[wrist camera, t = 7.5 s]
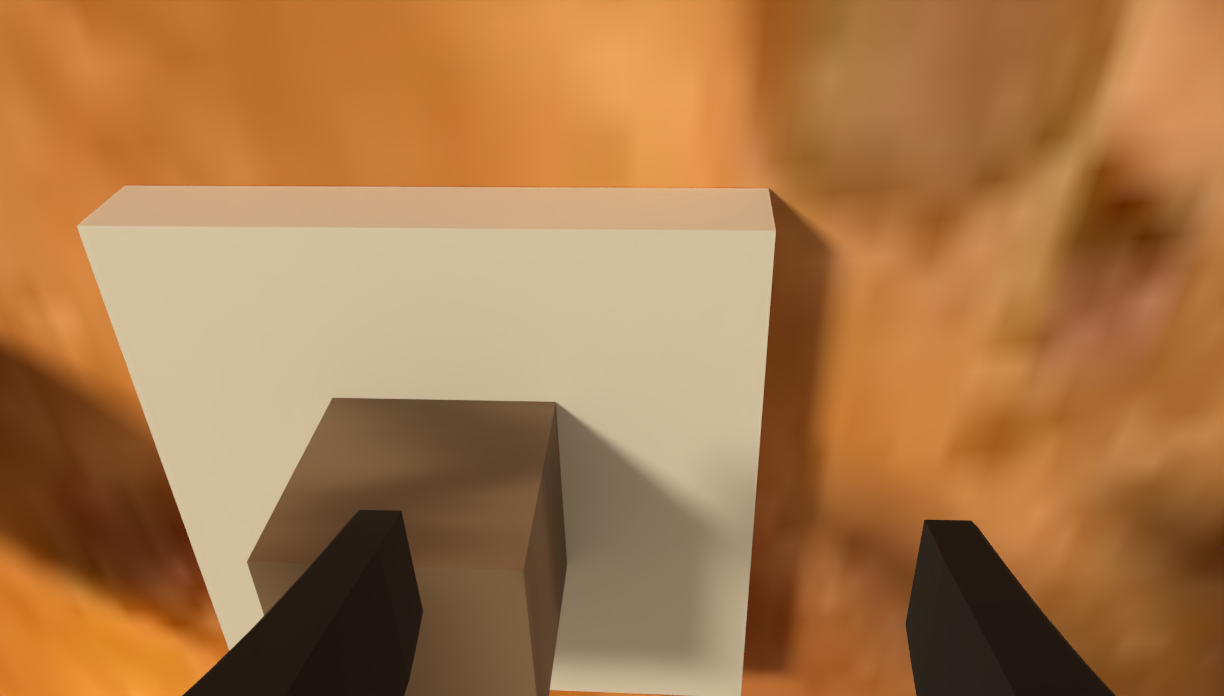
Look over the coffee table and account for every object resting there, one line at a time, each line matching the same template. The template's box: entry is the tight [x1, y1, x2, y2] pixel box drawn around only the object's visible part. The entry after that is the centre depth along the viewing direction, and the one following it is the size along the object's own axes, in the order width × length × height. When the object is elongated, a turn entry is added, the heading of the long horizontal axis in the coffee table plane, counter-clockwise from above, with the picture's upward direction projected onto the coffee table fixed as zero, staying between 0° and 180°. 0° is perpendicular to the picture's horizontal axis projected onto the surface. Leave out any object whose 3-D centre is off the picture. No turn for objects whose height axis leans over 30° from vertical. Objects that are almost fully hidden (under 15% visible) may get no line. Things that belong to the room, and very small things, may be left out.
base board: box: [77, 186, 776, 696], centre depth 24 cm, size 14×14×2 cm
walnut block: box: [247, 398, 567, 696], centre depth 21 cm, size 5×5×5 cm
